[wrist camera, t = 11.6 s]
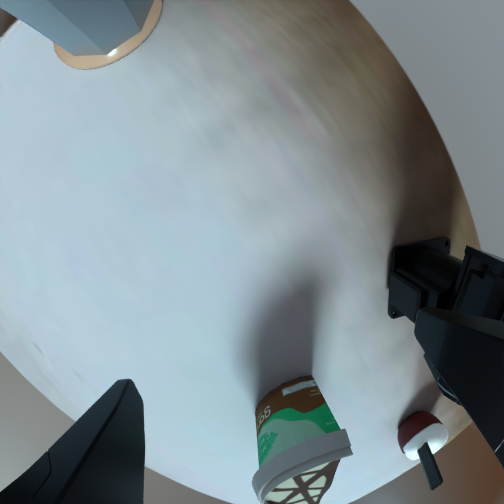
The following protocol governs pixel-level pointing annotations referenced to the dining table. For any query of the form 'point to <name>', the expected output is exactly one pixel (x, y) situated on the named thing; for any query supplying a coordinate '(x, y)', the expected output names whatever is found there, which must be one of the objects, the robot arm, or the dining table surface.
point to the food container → (297, 444)
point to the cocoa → (423, 443)
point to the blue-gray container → (83, 22)
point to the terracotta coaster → (117, 53)
